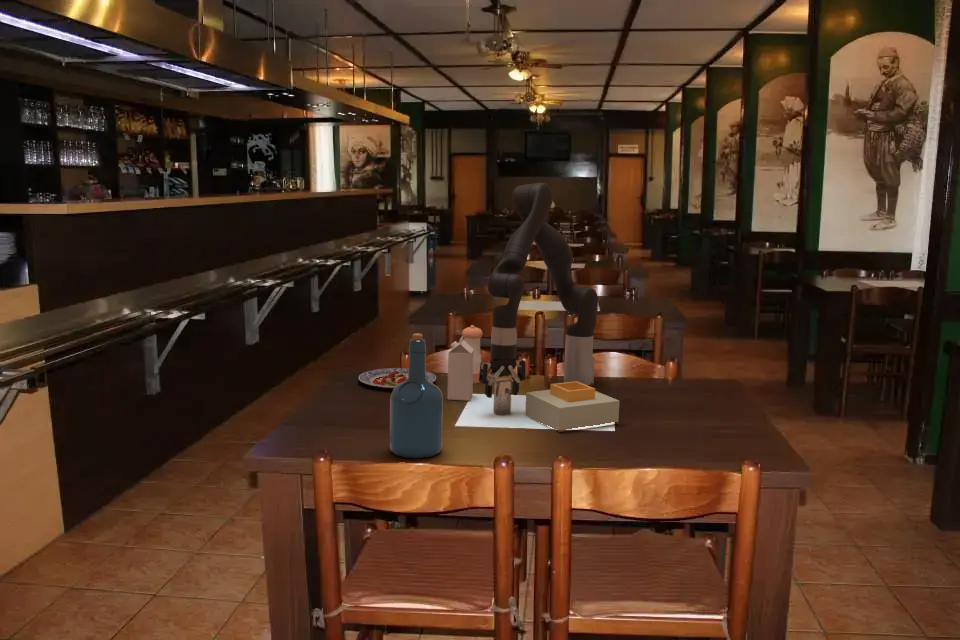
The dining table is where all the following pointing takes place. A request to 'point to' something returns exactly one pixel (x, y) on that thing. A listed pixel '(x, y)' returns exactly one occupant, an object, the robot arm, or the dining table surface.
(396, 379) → the ceramic plate
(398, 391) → the wine bottle
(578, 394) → the slab with orange tray
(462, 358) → the milk carton
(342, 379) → the dining table surface
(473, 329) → the pepper shaker
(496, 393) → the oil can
